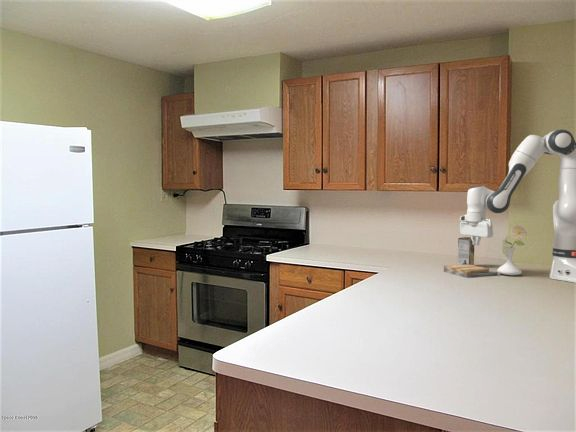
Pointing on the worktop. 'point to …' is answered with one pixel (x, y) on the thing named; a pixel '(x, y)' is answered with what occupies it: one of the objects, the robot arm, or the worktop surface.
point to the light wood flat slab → (472, 268)
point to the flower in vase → (509, 266)
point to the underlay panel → (491, 273)
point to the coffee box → (465, 251)
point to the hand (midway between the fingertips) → (475, 245)
